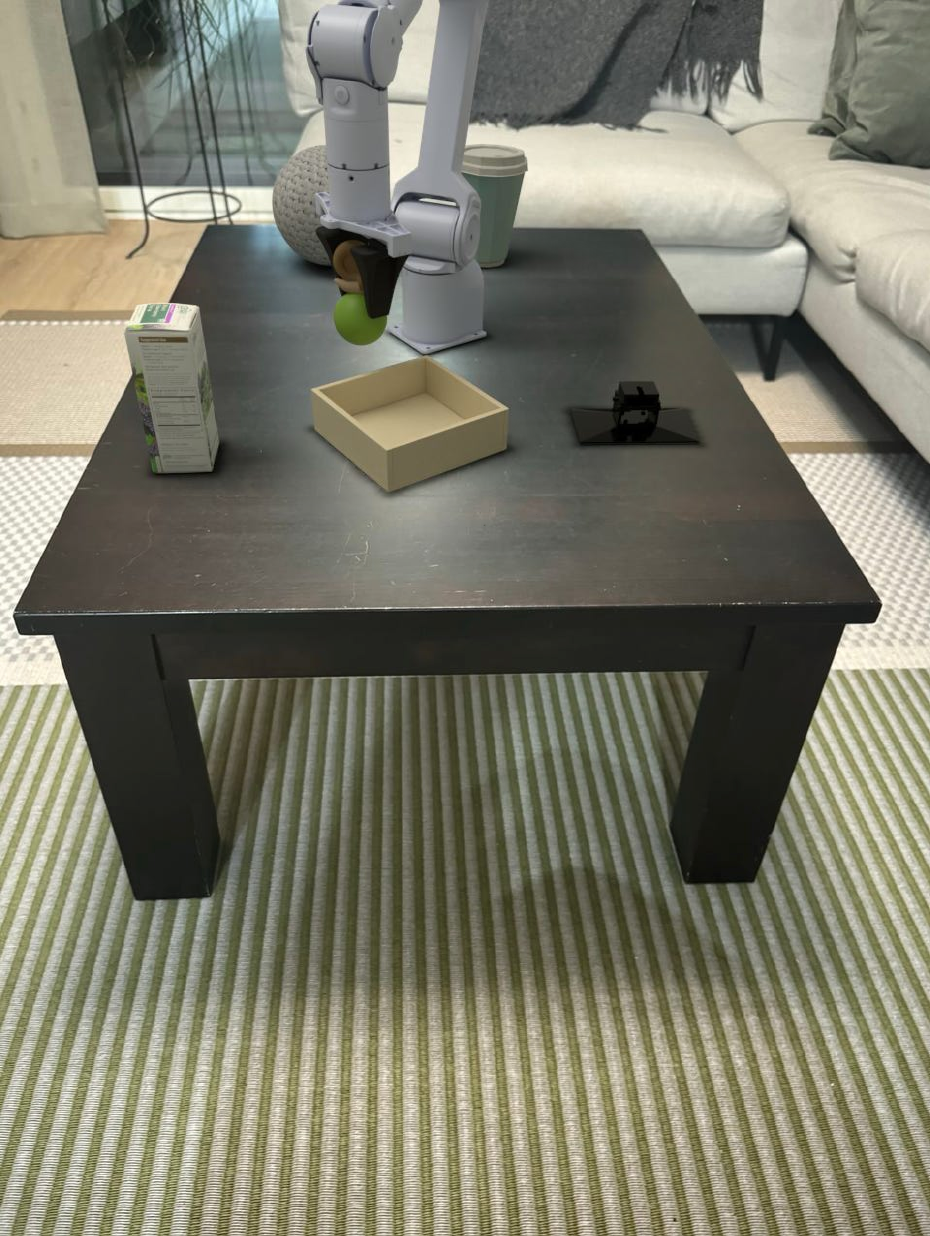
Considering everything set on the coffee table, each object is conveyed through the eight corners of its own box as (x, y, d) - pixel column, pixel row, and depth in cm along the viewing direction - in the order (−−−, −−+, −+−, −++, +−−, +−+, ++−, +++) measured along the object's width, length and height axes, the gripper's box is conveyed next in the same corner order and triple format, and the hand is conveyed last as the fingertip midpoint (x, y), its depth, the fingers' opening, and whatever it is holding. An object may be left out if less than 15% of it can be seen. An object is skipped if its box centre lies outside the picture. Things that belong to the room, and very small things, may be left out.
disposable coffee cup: (440, 249, 135) (441, 137, 125) (510, 245, 137) (517, 135, 127) (457, 276, 127) (460, 159, 117) (531, 271, 129) (540, 156, 119)
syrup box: (162, 443, 92) (131, 302, 82) (222, 442, 92) (198, 301, 83) (153, 474, 87) (119, 329, 78) (215, 473, 88) (189, 328, 78)
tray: (427, 393, 101) (427, 354, 98) (506, 449, 93) (509, 408, 89) (314, 429, 94) (310, 388, 91) (388, 493, 86) (386, 450, 83)
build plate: (579, 446, 94) (584, 405, 91) (569, 411, 99) (573, 371, 96) (698, 443, 94) (707, 403, 91) (682, 409, 100) (689, 369, 97)
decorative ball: (406, 260, 131) (404, 146, 121) (333, 291, 122) (324, 170, 112) (331, 236, 138) (323, 126, 128) (256, 263, 129) (241, 147, 119)
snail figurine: (389, 358, 93) (385, 237, 85) (328, 351, 94) (319, 230, 86) (402, 336, 97) (400, 218, 89) (344, 329, 98) (337, 212, 90)
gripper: (282, 149, 86) (296, 291, 95) (361, 189, 78) (368, 341, 86) (347, 139, 89) (354, 277, 98) (430, 177, 81) (430, 325, 90)
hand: (365, 306), depth 93 cm, fingers closed on snail figurine, 4 cm apart
